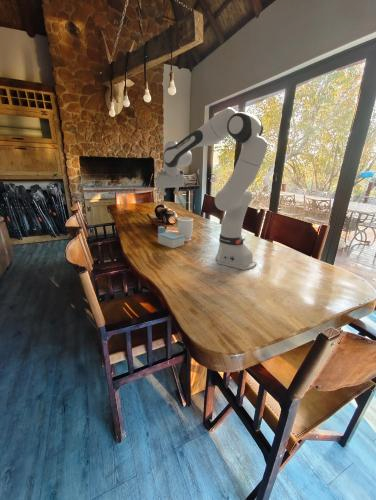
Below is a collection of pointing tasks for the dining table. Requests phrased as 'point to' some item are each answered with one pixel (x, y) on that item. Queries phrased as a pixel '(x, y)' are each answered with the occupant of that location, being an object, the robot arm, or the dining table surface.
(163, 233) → the lid
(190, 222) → the jar
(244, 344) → the dining table surface
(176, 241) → the tub
